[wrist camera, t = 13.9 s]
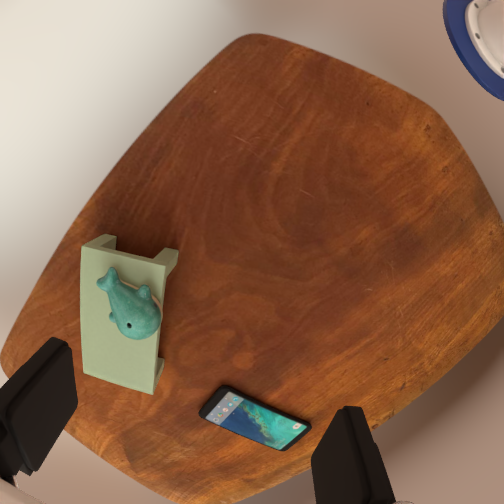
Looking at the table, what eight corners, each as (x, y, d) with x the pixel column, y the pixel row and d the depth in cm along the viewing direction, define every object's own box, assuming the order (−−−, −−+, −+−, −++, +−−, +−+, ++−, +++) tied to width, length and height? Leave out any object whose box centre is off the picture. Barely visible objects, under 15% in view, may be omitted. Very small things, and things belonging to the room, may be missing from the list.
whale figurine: (138, 339, 31) (126, 359, 27) (91, 284, 29) (73, 299, 25) (178, 310, 30) (169, 330, 26) (128, 251, 28) (112, 263, 24)
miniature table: (104, 233, 33) (81, 245, 28) (179, 250, 34) (165, 266, 28) (100, 349, 37) (83, 372, 32) (163, 368, 38) (152, 394, 33)
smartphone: (222, 385, 37) (314, 427, 40) (222, 382, 38) (313, 423, 40) (196, 416, 39) (284, 453, 41) (196, 412, 40) (283, 449, 42)
